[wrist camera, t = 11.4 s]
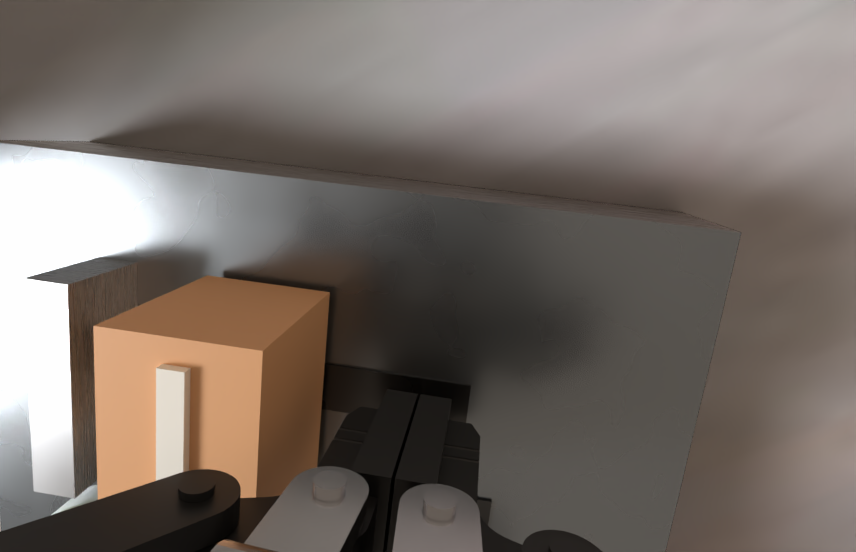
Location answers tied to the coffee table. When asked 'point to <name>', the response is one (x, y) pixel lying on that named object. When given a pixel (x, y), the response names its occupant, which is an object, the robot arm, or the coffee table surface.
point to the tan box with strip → (211, 385)
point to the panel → (378, 318)
